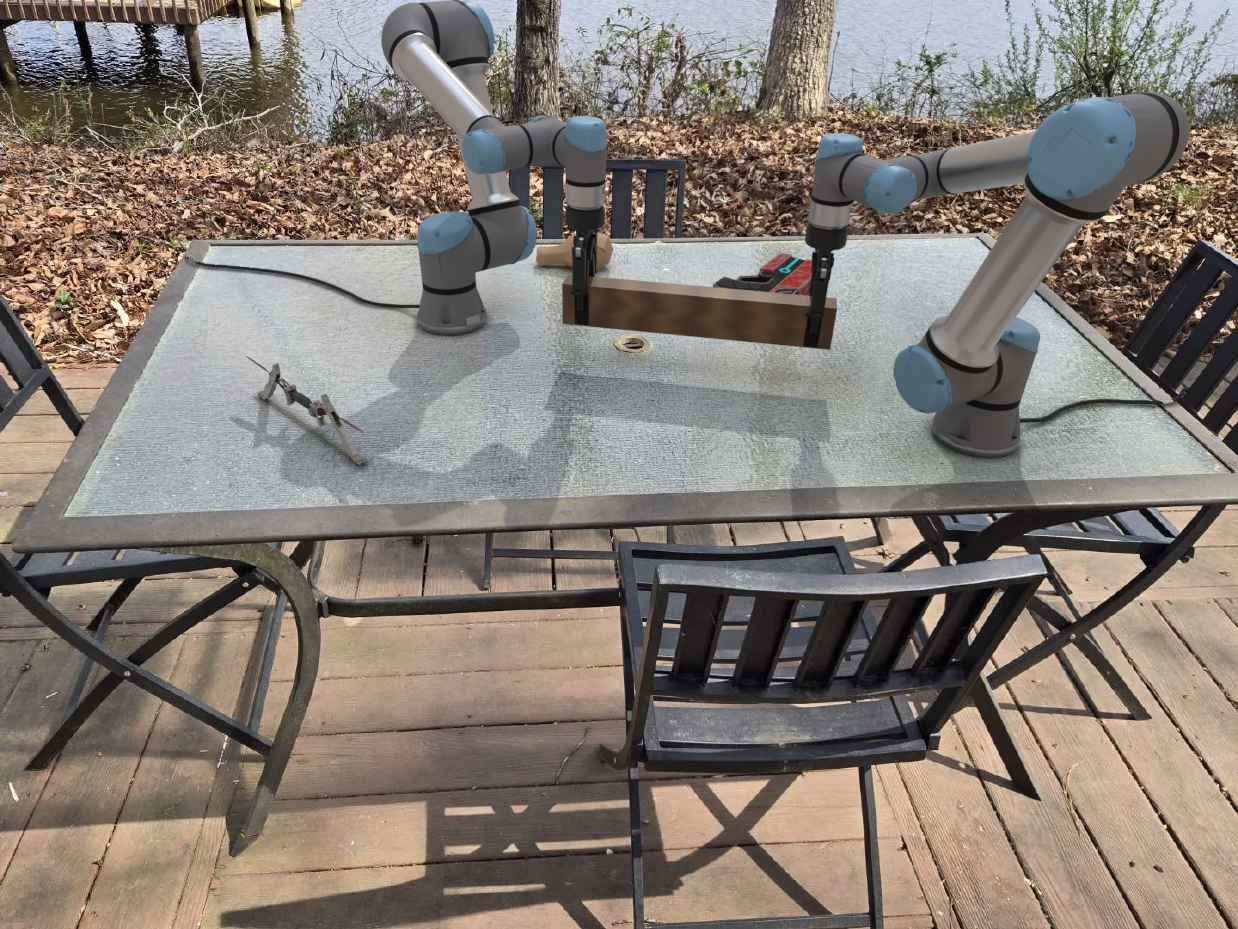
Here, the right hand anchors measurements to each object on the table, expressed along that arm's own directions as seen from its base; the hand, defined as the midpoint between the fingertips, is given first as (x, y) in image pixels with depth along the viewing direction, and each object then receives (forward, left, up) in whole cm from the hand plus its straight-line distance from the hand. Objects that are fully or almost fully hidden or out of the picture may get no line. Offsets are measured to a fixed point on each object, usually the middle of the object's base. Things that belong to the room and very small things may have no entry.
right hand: (810, 339), depth 173 cm
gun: (-2, -46, -9) cm, 47 cm away
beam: (+22, -5, -1) cm, 23 cm away
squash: (+47, -61, -9) cm, 77 cm away
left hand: (+45, -10, 0) cm, 46 cm away
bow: (+94, +19, -9) cm, 97 cm away
